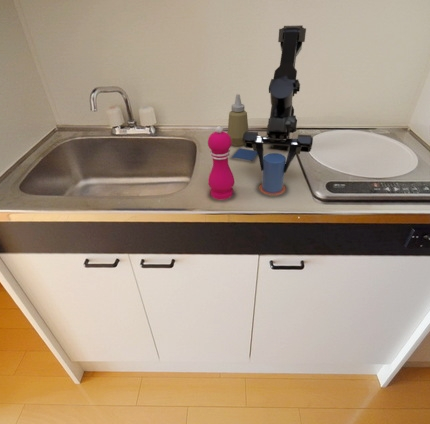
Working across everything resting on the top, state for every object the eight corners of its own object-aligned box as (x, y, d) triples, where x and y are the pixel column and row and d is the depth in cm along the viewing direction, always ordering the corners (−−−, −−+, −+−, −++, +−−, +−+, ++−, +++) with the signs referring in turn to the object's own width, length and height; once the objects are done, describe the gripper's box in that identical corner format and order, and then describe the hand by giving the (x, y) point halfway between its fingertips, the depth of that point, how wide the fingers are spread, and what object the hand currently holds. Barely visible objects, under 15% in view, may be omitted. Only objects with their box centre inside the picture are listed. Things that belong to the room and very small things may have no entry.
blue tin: (265, 180, 85) (267, 151, 80) (285, 184, 83) (288, 154, 77) (259, 190, 81) (260, 160, 75) (279, 195, 79) (282, 164, 73)
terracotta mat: (263, 180, 86) (263, 179, 86) (288, 185, 84) (288, 183, 84) (255, 193, 81) (255, 191, 81) (281, 198, 78) (281, 197, 78)
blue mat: (239, 149, 105) (239, 148, 104) (259, 152, 102) (259, 151, 102) (231, 158, 99) (231, 156, 99) (252, 161, 96) (252, 160, 96)
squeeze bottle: (223, 144, 109) (221, 95, 98) (236, 137, 114) (236, 90, 103) (239, 149, 105) (239, 99, 94) (252, 142, 109) (254, 93, 99)
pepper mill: (232, 202, 77) (230, 132, 65) (206, 200, 79) (200, 131, 67) (236, 188, 83) (236, 121, 71) (212, 186, 84) (208, 120, 72)
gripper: (243, 101, 73) (235, 159, 71) (318, 104, 69) (311, 165, 68) (248, 121, 84) (241, 171, 82) (313, 124, 80) (307, 177, 78)
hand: (273, 171), depth 77 cm, fingers closed on blue tin, 6 cm apart
